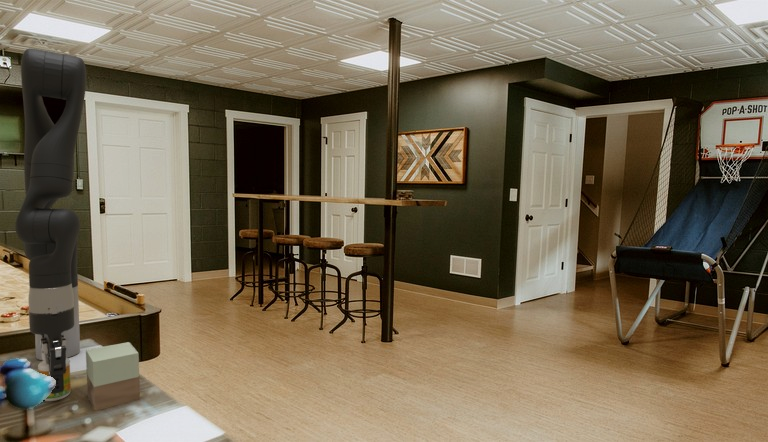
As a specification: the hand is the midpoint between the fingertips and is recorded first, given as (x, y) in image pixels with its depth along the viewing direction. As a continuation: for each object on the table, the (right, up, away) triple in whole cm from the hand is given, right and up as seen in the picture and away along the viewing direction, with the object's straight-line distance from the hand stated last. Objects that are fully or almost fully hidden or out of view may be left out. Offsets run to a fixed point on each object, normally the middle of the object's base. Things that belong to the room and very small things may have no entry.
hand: (54, 386), depth 99 cm
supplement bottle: (0, -2, 0) cm, 2 cm away
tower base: (+12, -3, 0) cm, 12 cm away
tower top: (+12, +2, 0) cm, 12 cm away
